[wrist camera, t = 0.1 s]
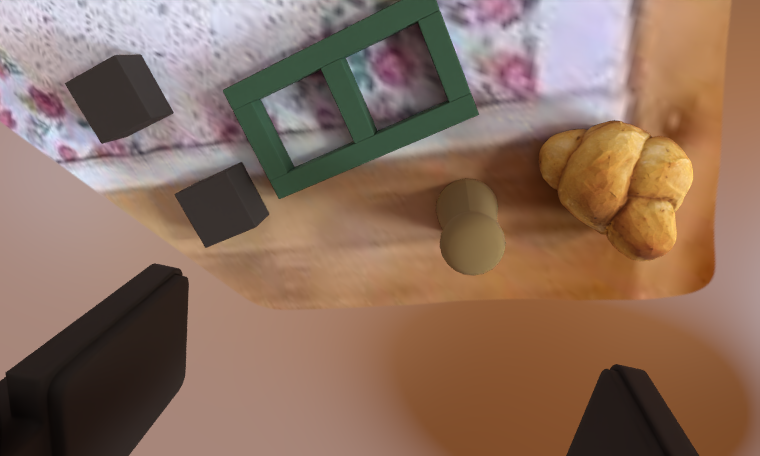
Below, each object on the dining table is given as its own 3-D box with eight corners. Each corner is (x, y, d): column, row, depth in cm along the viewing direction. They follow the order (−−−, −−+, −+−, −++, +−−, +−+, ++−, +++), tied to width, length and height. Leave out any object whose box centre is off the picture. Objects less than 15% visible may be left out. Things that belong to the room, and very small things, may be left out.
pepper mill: (487, 243, 49) (500, 294, 39) (429, 228, 49) (426, 276, 39) (505, 186, 47) (524, 225, 36) (444, 172, 47) (445, 206, 37)
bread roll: (514, 173, 46) (528, 197, 39) (582, 83, 43) (611, 90, 35) (622, 244, 47) (656, 280, 40) (697, 161, 44) (750, 185, 36)
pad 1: (93, 80, 48) (64, 83, 44) (141, 54, 46) (115, 54, 43) (126, 136, 49) (101, 143, 46) (174, 113, 48) (151, 118, 44)
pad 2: (193, 183, 50) (174, 194, 47) (242, 161, 49) (225, 171, 45) (222, 233, 52) (205, 248, 48) (269, 214, 51) (256, 227, 47)
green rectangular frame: (233, 88, 46) (222, 90, 44) (431, -12, 41) (430, -15, 39) (286, 192, 49) (279, 199, 47) (477, 111, 44) (479, 114, 42)
